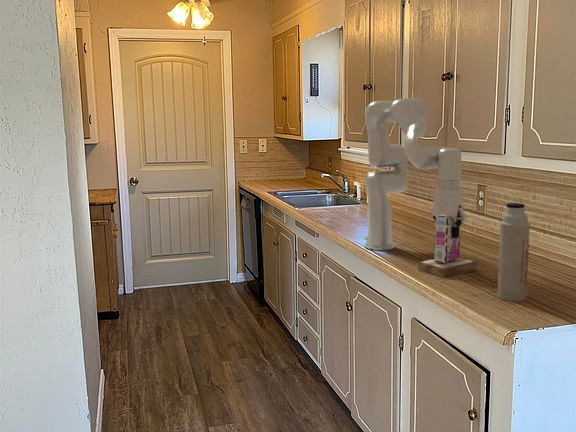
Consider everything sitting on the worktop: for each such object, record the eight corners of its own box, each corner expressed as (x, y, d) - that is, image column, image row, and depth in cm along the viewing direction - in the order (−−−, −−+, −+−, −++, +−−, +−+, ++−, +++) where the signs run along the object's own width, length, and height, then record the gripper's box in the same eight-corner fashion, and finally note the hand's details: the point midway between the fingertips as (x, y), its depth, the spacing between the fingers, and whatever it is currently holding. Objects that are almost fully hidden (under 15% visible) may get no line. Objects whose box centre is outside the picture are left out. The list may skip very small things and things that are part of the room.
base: (418, 270, 201) (418, 261, 200) (449, 263, 209) (449, 255, 209) (444, 277, 191) (444, 268, 190) (476, 270, 200) (476, 261, 199)
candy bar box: (446, 264, 194) (447, 216, 191) (433, 262, 197) (434, 215, 195) (460, 257, 202) (461, 211, 200) (447, 255, 206) (448, 210, 203)
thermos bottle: (531, 297, 169) (536, 203, 164) (516, 302, 164) (520, 206, 159) (507, 291, 175) (511, 200, 170) (491, 296, 170) (495, 203, 166)
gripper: (422, 183, 200) (421, 233, 204) (461, 187, 186) (459, 241, 189) (437, 181, 204) (436, 231, 208) (476, 186, 190) (475, 238, 193)
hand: (447, 235), depth 198 cm, fingers closed on candy bar box, 6 cm apart
